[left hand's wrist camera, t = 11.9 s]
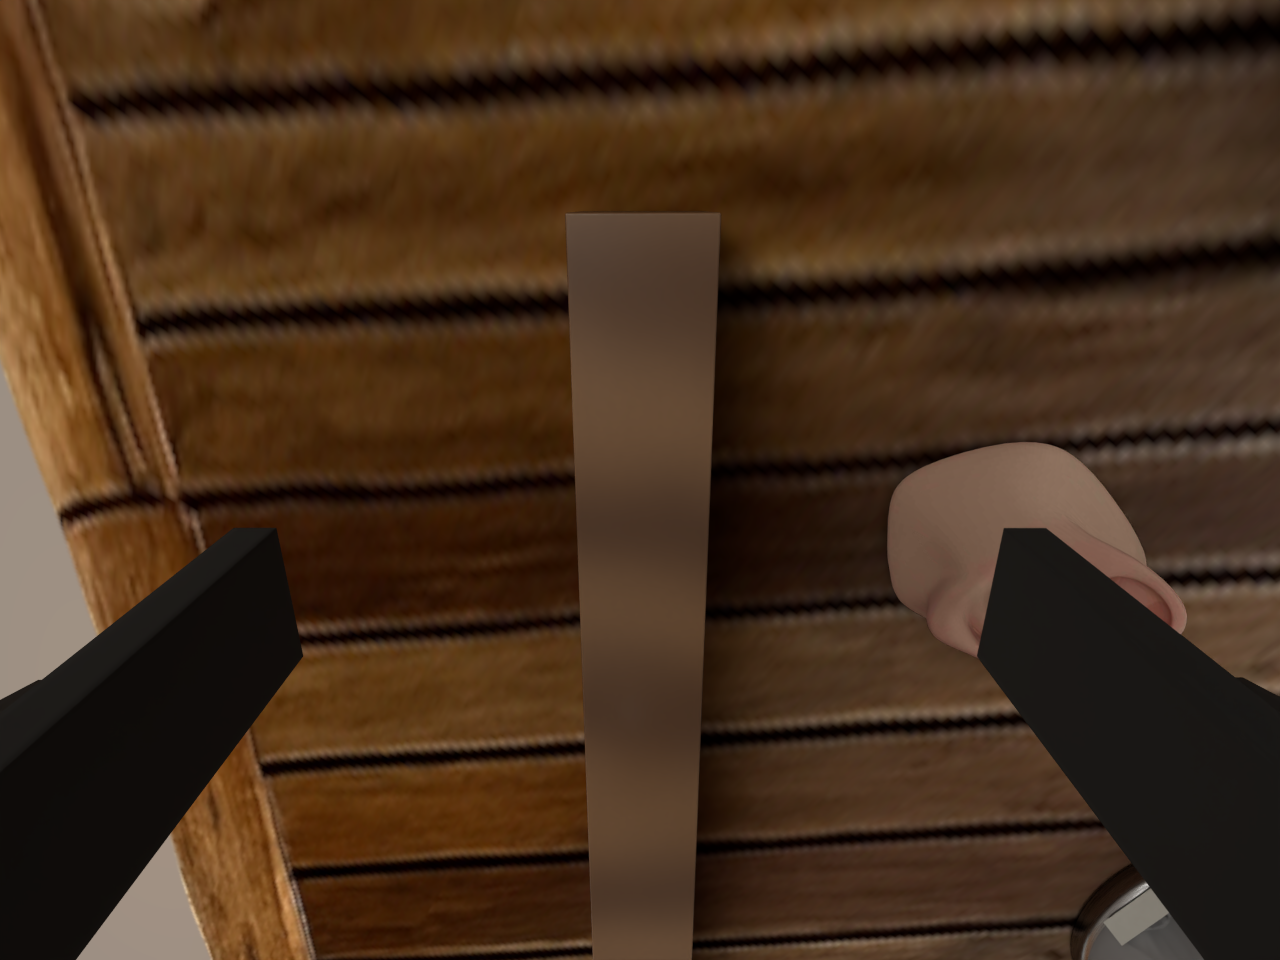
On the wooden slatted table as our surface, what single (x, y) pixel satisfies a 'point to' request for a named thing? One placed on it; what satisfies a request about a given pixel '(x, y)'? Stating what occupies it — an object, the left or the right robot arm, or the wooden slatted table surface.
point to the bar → (642, 557)
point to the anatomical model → (973, 526)
